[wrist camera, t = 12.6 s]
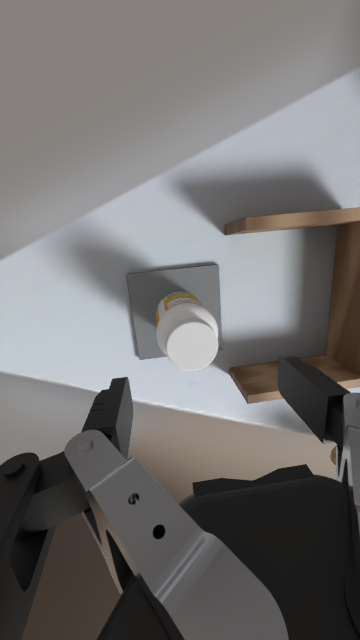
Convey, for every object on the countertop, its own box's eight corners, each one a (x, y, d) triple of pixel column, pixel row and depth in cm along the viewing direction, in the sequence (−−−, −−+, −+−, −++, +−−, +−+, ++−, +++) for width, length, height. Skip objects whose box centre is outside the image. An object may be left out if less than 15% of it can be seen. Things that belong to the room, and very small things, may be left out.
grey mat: (217, 264, 26) (218, 264, 26) (221, 347, 29) (222, 349, 29) (126, 273, 25) (126, 274, 25) (139, 358, 28) (139, 359, 28)
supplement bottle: (183, 345, 28) (198, 391, 19) (146, 319, 27) (141, 356, 17) (212, 309, 27) (242, 339, 18) (174, 280, 26) (186, 297, 16)
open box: (347, 214, 26) (401, 203, 21) (332, 360, 31) (372, 384, 26) (224, 225, 25) (245, 217, 19) (229, 375, 30) (247, 403, 25)
